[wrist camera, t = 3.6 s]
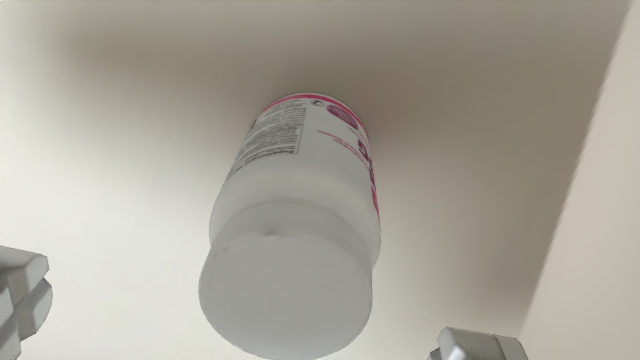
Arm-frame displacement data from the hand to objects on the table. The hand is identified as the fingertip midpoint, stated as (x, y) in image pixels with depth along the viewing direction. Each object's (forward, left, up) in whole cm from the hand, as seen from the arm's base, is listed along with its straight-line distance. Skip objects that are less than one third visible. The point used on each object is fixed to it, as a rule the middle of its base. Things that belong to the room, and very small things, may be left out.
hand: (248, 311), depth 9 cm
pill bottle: (-1, 0, -9) cm, 9 cm away
